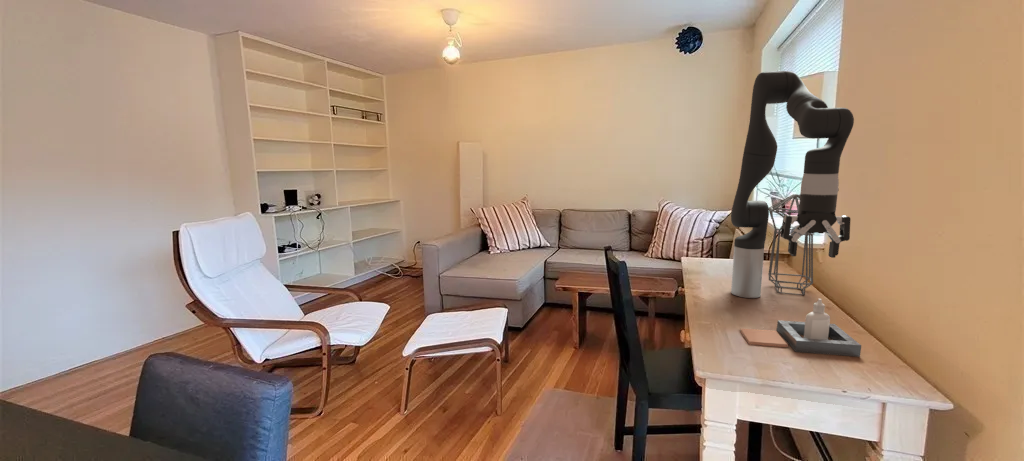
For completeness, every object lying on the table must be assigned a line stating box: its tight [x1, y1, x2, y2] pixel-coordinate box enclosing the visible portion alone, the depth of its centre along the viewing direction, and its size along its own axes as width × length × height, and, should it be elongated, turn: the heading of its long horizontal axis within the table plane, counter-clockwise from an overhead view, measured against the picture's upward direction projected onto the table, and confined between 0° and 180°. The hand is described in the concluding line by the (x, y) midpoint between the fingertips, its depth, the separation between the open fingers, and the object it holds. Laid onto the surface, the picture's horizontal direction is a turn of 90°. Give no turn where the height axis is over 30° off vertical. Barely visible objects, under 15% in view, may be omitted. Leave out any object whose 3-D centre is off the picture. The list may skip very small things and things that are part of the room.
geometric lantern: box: [768, 193, 815, 296], centre depth 156 cm, size 16×16×35 cm
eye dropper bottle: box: [803, 298, 831, 340], centre depth 114 cm, size 4×6×12 cm
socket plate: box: [776, 319, 862, 358], centre depth 115 cm, size 14×14×3 cm
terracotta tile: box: [739, 328, 789, 348], centre depth 118 cm, size 9×9×1 cm
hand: (812, 256), depth 110 cm, fingers open, 8 cm apart
